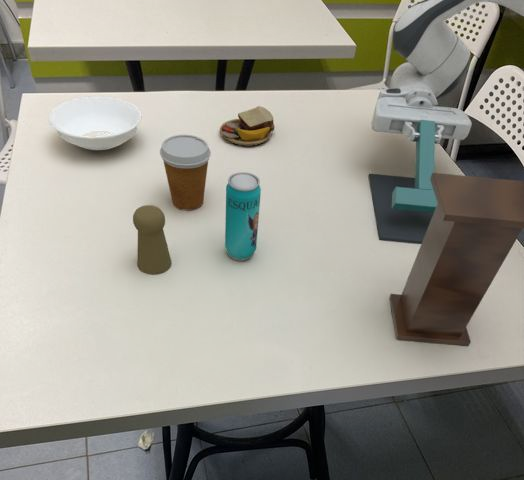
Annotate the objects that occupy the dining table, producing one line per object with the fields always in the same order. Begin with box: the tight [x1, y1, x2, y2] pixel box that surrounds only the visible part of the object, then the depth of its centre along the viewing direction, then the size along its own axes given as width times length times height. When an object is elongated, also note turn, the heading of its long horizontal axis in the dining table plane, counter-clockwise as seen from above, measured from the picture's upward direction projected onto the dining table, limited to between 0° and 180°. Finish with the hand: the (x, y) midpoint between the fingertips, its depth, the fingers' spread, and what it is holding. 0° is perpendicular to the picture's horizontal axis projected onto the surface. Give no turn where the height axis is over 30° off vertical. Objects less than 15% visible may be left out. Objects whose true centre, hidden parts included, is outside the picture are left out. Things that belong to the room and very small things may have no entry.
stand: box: [388, 172, 524, 347], centre depth 75 cm, size 13×10×24 cm
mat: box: [368, 172, 434, 244], centre depth 105 cm, size 16×24×1 cm, turn 177°
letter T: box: [392, 120, 438, 213], centre depth 98 cm, size 12×18×2 cm, turn 177°
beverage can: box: [224, 171, 262, 262], centre depth 86 cm, size 6×6×15 cm
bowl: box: [48, 95, 143, 151], centre depth 111 cm, size 20×20×6 cm
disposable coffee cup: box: [159, 134, 212, 211], centre depth 96 cm, size 10×10×12 cm
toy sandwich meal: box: [219, 105, 275, 147], centre depth 119 cm, size 12×14×5 cm
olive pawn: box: [132, 204, 173, 275], centre depth 84 cm, size 6×6×11 cm
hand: (425, 139), depth 99 cm, fingers closed on letter T, 3 cm apart
